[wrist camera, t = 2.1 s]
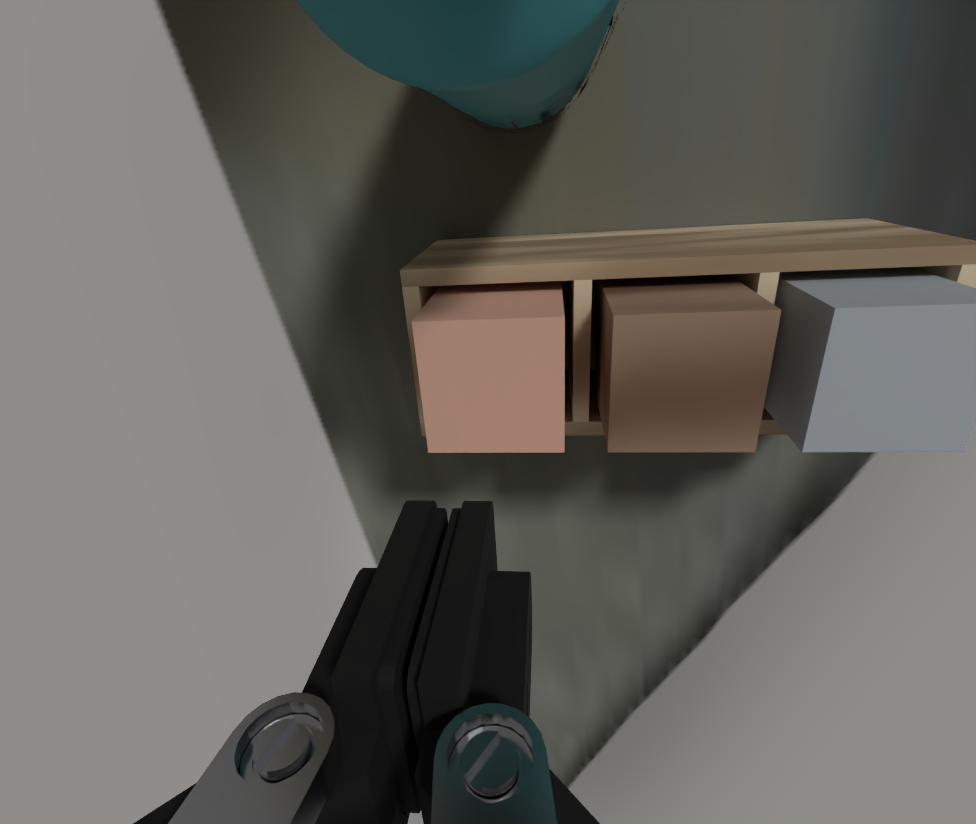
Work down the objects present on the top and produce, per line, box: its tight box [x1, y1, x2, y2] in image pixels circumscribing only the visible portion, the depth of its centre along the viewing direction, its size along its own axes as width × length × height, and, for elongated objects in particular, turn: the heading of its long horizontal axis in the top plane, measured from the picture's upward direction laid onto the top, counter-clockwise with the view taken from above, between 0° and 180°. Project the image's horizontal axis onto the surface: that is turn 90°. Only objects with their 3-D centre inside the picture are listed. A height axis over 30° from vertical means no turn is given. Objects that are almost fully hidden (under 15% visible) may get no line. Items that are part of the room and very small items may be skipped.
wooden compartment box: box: [400, 218, 976, 436], centre depth 22 cm, size 7×19×7 cm, turn 94°
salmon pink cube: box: [412, 281, 565, 453], centre depth 19 cm, size 5×5×5 cm
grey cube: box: [764, 267, 976, 452], centre depth 18 cm, size 5×5×5 cm
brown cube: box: [595, 274, 781, 452], centre depth 18 cm, size 5×5×5 cm
